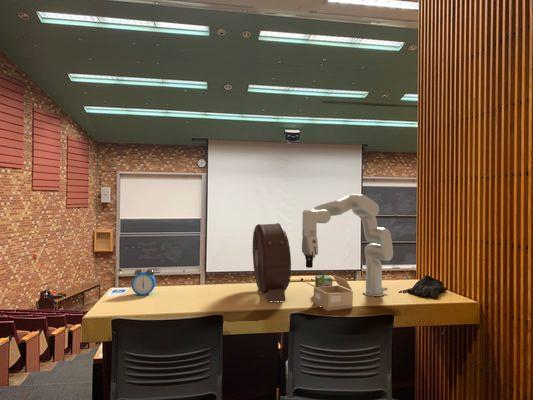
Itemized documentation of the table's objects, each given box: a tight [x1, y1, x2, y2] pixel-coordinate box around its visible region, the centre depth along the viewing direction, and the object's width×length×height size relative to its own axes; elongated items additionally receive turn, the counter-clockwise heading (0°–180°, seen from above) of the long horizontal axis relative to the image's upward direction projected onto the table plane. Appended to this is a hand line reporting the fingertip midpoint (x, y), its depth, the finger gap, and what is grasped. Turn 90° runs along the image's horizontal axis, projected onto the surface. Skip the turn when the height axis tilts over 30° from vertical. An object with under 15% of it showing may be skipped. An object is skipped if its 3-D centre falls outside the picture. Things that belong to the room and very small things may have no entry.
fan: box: [252, 222, 292, 303], centre depth 213 cm, size 41×18×44 cm, turn 11°
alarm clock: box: [130, 268, 157, 296], centre depth 208 cm, size 13×6×15 cm, turn 98°
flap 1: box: [305, 281, 327, 293], centre depth 188 cm, size 7×13×1 cm, turn 23°
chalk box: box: [314, 270, 333, 287], centre depth 212 cm, size 9×9×15 cm
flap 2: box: [332, 274, 353, 291], centre depth 195 cm, size 7×13×1 cm
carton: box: [313, 284, 354, 312], centre depth 192 cm, size 16×15×9 cm
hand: (309, 267), depth 187 cm, fingers closed
